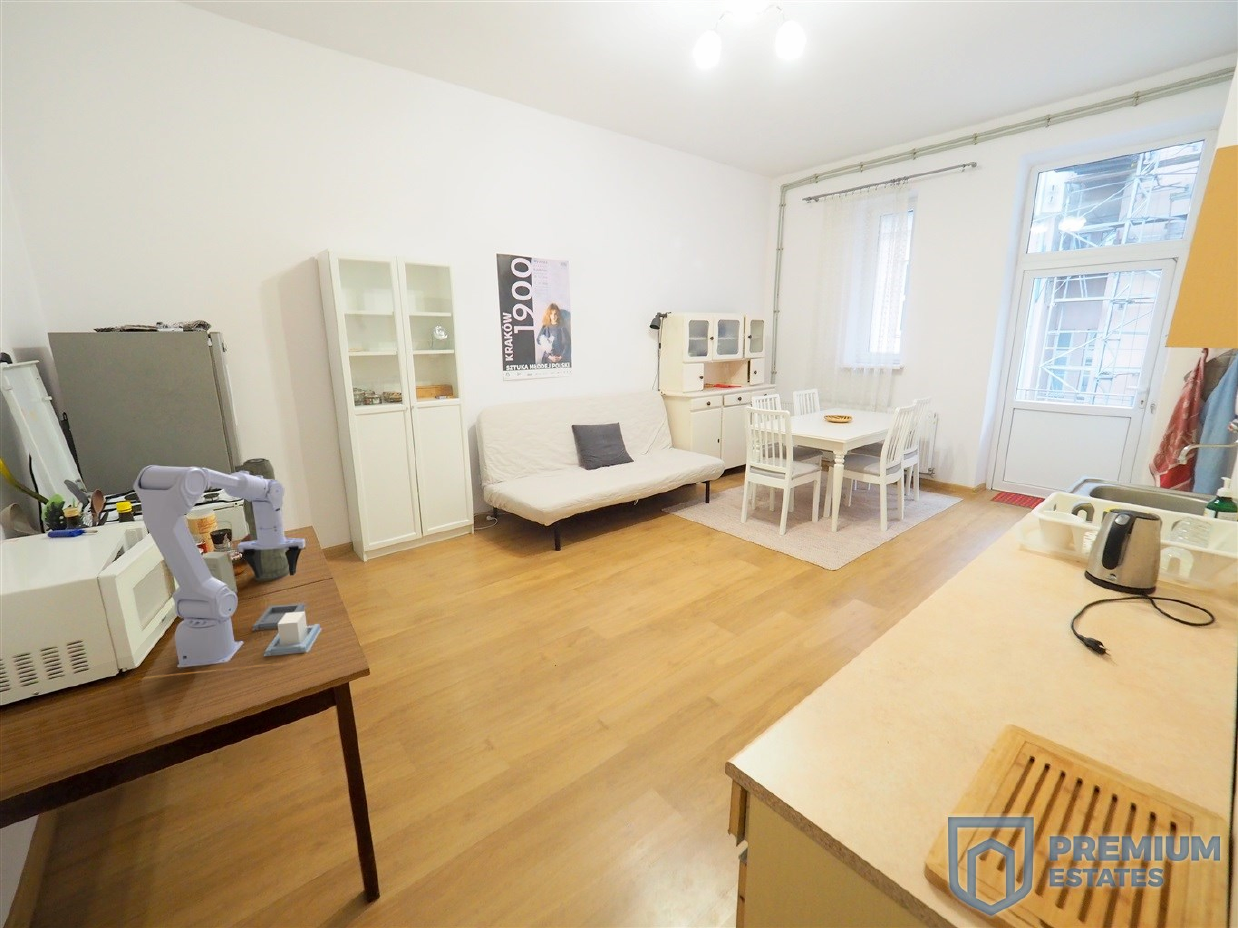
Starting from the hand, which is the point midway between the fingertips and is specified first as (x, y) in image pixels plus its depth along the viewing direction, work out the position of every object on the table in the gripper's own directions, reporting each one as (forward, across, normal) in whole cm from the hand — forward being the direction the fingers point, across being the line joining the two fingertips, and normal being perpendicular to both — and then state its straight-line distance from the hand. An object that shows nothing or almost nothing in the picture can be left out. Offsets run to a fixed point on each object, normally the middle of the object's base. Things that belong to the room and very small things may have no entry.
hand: (276, 575), depth 133 cm
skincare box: (+10, +18, -10) cm, 23 cm away
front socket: (+9, -9, +18) cm, 22 cm away
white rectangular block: (+9, -9, +18) cm, 22 cm away
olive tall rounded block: (+10, +10, -22) cm, 26 cm away
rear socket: (+9, -2, +6) cm, 11 cm away
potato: (+10, +20, -38) cm, 44 cm away
